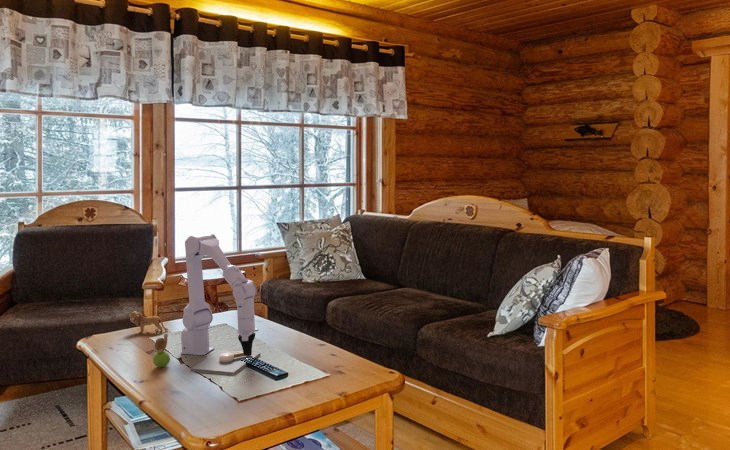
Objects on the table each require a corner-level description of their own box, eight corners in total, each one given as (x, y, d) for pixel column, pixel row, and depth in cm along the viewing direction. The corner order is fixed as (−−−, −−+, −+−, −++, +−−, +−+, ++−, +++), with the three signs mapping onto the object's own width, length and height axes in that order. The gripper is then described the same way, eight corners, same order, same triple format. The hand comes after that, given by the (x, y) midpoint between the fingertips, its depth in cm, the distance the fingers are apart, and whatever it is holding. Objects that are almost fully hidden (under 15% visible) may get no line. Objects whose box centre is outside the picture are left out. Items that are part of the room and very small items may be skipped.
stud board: (190, 371, 207) (190, 368, 207) (220, 352, 226) (220, 349, 226) (238, 375, 202) (238, 372, 202) (264, 355, 221) (264, 352, 221)
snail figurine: (175, 364, 214) (173, 330, 213) (163, 370, 208) (161, 335, 207) (162, 362, 216) (160, 329, 215) (150, 368, 210) (148, 334, 209)
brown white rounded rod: (221, 363, 211) (221, 351, 210) (217, 359, 215) (216, 347, 215) (254, 356, 217) (253, 344, 216) (249, 353, 221) (248, 341, 221)
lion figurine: (129, 335, 250) (127, 313, 249) (132, 331, 255) (131, 310, 254) (166, 332, 252) (165, 311, 251) (169, 329, 257) (167, 308, 256)
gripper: (256, 322, 205) (257, 361, 207) (259, 310, 220) (260, 347, 221) (234, 323, 205) (236, 362, 206) (239, 311, 219) (240, 348, 220)
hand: (247, 355), depth 214 cm, fingers closed
